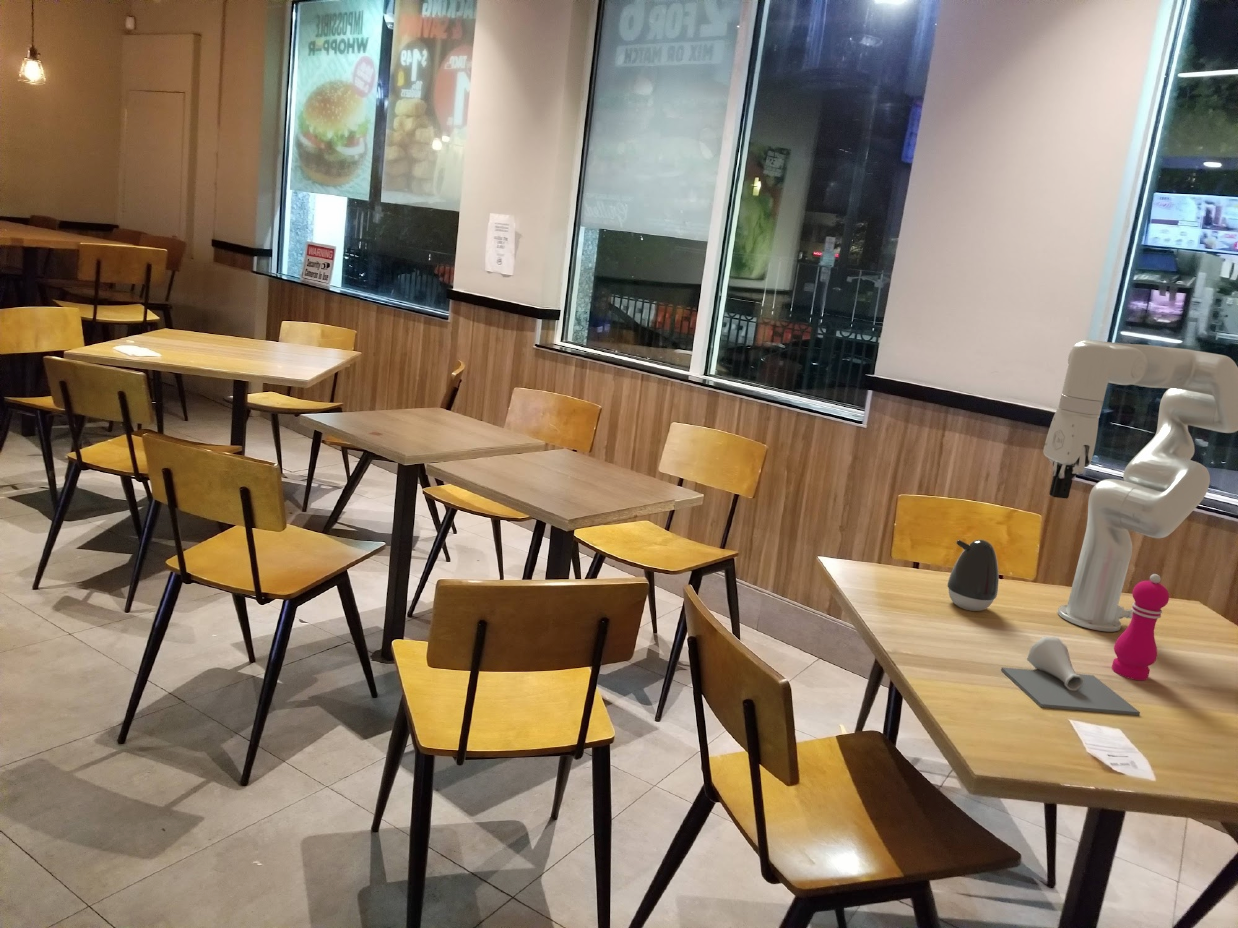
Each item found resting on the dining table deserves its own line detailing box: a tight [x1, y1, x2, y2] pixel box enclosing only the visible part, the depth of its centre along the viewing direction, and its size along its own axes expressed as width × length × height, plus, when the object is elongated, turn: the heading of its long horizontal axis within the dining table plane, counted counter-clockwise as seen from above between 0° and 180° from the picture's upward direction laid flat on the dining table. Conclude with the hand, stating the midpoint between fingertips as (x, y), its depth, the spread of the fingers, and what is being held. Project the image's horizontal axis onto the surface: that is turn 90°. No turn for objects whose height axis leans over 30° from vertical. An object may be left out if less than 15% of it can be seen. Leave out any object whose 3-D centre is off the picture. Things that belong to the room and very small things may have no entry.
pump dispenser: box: [946, 539, 1000, 612], centre depth 206 cm, size 10×10×15 cm
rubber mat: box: [1000, 666, 1141, 716], centre depth 169 cm, size 18×14×1 cm
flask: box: [1026, 636, 1084, 691], centre depth 172 cm, size 7×7×10 cm
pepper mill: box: [1111, 573, 1170, 681], centre depth 179 cm, size 7×7×20 cm
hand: (1058, 496), depth 190 cm, fingers closed
